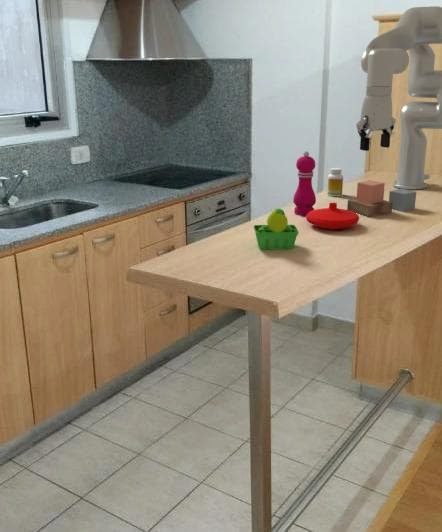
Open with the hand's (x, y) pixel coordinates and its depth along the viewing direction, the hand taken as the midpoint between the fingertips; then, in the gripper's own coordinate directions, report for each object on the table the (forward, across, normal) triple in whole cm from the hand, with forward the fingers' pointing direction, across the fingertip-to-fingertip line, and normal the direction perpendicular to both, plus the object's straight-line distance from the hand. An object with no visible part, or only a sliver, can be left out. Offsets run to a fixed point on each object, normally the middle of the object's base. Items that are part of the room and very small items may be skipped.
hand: (374, 148), depth 189 cm
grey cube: (+20, -11, +4) cm, 24 cm away
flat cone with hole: (+21, +22, +4) cm, 31 cm away
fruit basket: (+20, +49, +9) cm, 54 cm away
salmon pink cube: (+17, +1, 0) cm, 17 cm away
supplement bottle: (+21, -9, -24) cm, 33 cm away
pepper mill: (+20, +18, -12) cm, 30 cm away
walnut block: (+21, +1, 0) cm, 21 cm away
